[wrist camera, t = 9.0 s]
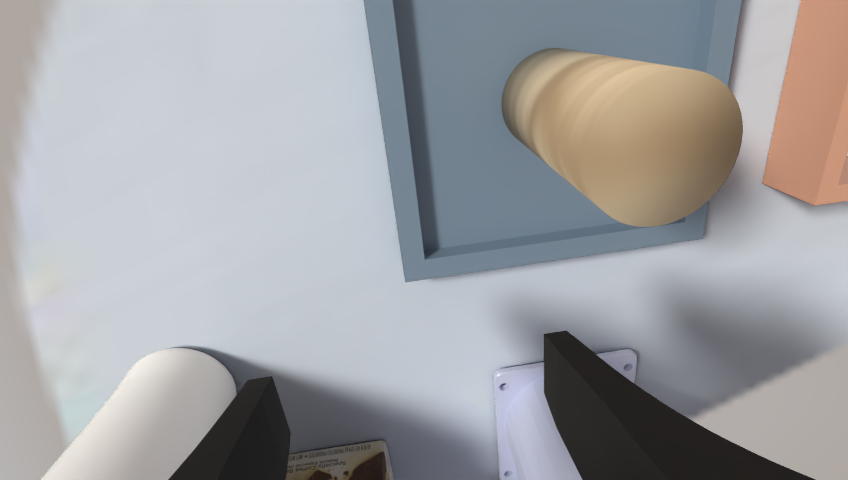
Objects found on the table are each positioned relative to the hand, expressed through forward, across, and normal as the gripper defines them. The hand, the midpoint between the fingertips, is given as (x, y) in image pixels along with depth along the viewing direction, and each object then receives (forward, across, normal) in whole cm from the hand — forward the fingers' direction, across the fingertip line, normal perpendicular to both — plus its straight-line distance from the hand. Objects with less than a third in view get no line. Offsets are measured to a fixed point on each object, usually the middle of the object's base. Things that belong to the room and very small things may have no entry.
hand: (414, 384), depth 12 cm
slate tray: (+10, -7, -5) cm, 14 cm away
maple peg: (+10, -7, -5) cm, 13 cm away
